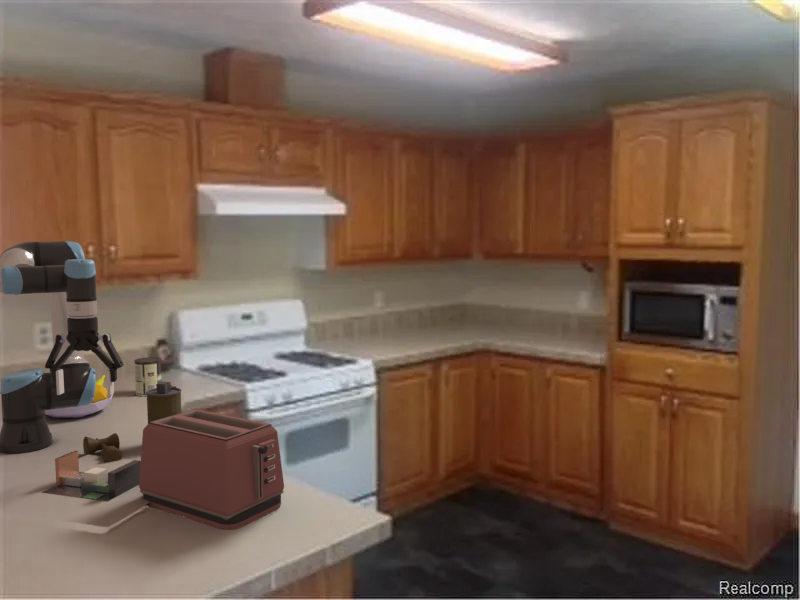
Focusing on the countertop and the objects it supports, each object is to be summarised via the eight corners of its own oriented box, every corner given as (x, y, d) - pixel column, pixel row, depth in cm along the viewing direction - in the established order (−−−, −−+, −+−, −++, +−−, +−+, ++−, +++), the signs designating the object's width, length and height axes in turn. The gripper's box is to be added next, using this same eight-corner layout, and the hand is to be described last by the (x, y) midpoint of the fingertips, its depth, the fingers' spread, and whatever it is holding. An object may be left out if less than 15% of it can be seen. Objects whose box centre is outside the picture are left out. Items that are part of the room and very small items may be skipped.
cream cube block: (84, 487, 181) (83, 472, 181) (95, 482, 185) (94, 467, 184) (97, 489, 180) (96, 473, 180) (108, 483, 184) (107, 468, 183)
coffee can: (151, 389, 295) (149, 356, 293) (167, 392, 289) (166, 358, 288) (130, 394, 286) (128, 360, 285) (146, 397, 281) (145, 362, 279)
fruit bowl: (58, 427, 239) (57, 395, 238) (20, 414, 255) (19, 384, 254) (133, 410, 261) (132, 380, 260) (94, 399, 277) (93, 371, 276)
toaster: (236, 535, 156) (234, 445, 154) (137, 503, 174) (133, 422, 172) (293, 506, 173) (292, 425, 170) (196, 479, 191) (194, 405, 188)
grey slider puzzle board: (41, 496, 178) (39, 469, 177) (86, 475, 193) (85, 450, 192) (107, 506, 172) (106, 477, 171) (149, 483, 187) (148, 457, 186)
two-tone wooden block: (56, 485, 182) (54, 458, 181) (76, 476, 189) (74, 450, 188) (77, 488, 180) (75, 461, 179) (96, 479, 187) (95, 452, 186)
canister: (172, 451, 213) (170, 387, 211) (141, 449, 216) (138, 385, 213) (190, 441, 224) (188, 379, 222) (160, 439, 226) (157, 377, 224)
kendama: (96, 470, 199) (79, 450, 215) (131, 464, 204) (112, 445, 220) (96, 450, 198) (79, 431, 214) (131, 444, 204) (112, 427, 220)
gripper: (28, 318, 186) (32, 397, 189) (123, 318, 187) (126, 396, 189) (42, 314, 194) (46, 390, 196) (133, 314, 195) (136, 390, 197)
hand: (85, 393), depth 193 cm, fingers open, 13 cm apart
